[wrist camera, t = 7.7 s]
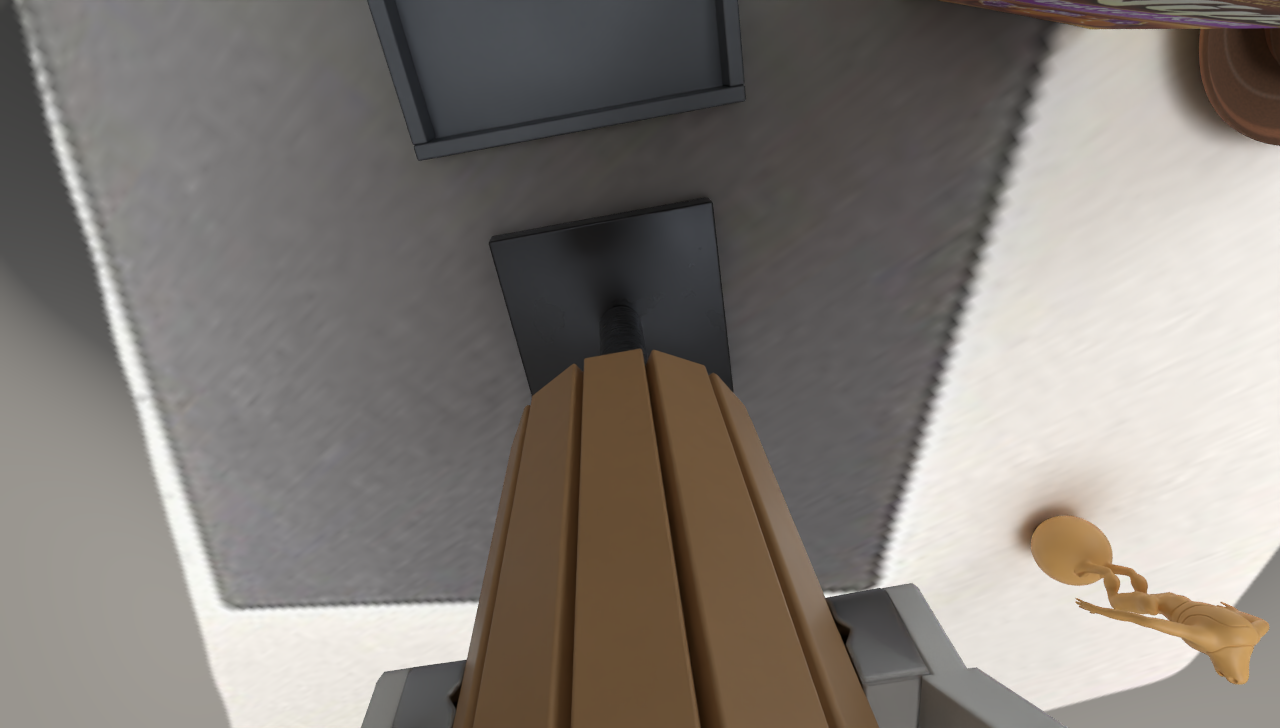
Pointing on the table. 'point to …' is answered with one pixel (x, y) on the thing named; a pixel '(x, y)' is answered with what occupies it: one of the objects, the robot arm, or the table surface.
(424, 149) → the desk tray
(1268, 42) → the cup and saucer
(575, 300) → the stand
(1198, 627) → the figurine
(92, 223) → the table surface
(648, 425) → the wooden pen holder
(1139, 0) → the candy box
